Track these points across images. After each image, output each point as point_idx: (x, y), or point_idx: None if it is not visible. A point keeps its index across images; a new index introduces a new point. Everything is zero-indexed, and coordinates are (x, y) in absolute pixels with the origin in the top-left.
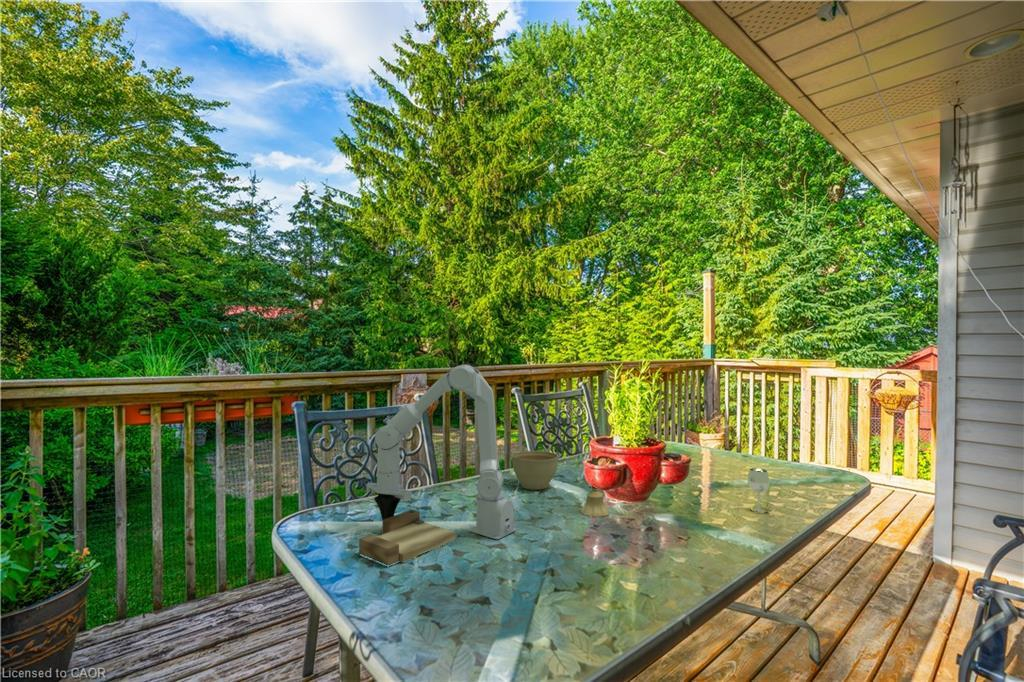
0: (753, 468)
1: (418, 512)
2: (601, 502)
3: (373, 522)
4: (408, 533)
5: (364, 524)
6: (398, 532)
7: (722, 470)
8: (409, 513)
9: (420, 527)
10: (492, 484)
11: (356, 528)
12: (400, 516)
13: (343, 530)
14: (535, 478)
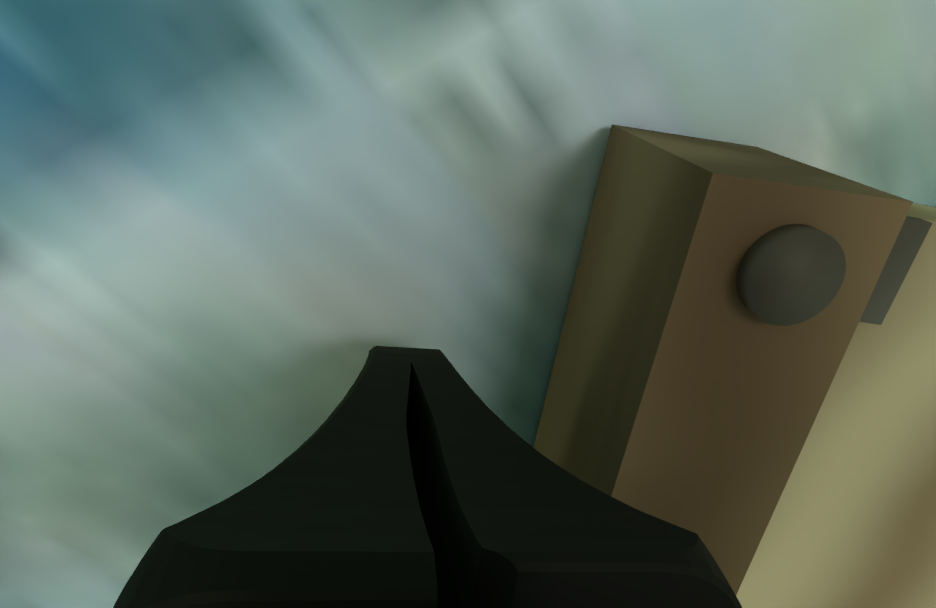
0: None
1: (893, 230)
2: None
3: (52, 278)
4: (853, 553)
5: (23, 384)
6: (743, 581)
7: None
8: (775, 362)
9: (923, 383)
10: None
11: (73, 507)
12: (700, 512)
13: (11, 599)
14: None
